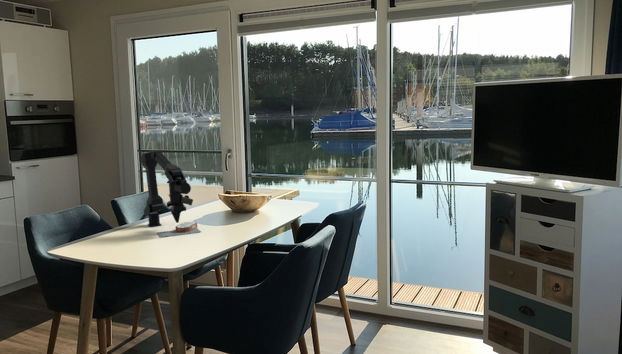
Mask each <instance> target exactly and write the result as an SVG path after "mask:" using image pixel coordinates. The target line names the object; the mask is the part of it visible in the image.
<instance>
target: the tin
mask: <svg viewBox="0 0 622 354" xmlns="http://www.w3.org/2000/svg"><path fill="white" fill-rule="evenodd" d="M196 228H197V229H198V223H197V222H196V221H184V222H182V223H179V224H177V225H176V226H175V230H176V232H178V233H184V232H190V231H192V230H194V229H196Z"/></svg>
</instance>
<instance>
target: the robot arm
mask: <svg viewBox="0 0 622 354" xmlns="http://www.w3.org/2000/svg"><path fill="white" fill-rule="evenodd" d="M139 160H140V162H141V166H142V167H143V168H144V169H145V175H146V176H145V177H146V182H147V193H148V198H147V200H146V206H145V208H144V210H143V214H144V216H147V217H148V218H147V219H148V223H147V226H148V227H149V228H151V227H159V226H162V224H161V221H160V214H164V207H165V205H164V199H163V197H160V195H159V189H158V182H157V174H156V168H157V165H159V166H160V167H161V169H163V170H164V175H165V177H166V178H167V181H166V184H168V190H169V194H168V197H169V201H167V202H166V207H167V208H169V211H170V214H171V215H172V217H173V219H174V221H175V223H177V224H178V223H179V222H180V216H181V213H183V212H186V211H187V206H186V205H189V206H191V207H192V206H193V204H194V203H193V202H194V199H193V198H190V196H189V195H188V194H189V193H190V192H191V190H192V187H191V185H190V183H188V181H187V179H186V176H185V175H184V172H183V171H182V168H180V167H179V166H178V165H176V164H173V163H172V162H171V161H170V160H169V159H168V158H167V157H166V155H164V154H163V152H162V150H152V151H149V152H143V153H141V154H140V159H139ZM179 224H180V223H179Z"/></svg>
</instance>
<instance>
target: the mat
mask: <svg viewBox="0 0 622 354" xmlns="http://www.w3.org/2000/svg"><path fill="white" fill-rule="evenodd" d="M200 232H201V233H202V231H201V230H200V229H199V228H198V227H197V228H196V229H194V230H192V231H190V232H184V233H178V232H176V229H174V230H167V231H159V232H156V234H157V235H158V236H159V237H160V238H168V237H176V236H183V235H184V236H185V235H191V234H199V233H200Z"/></svg>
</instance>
